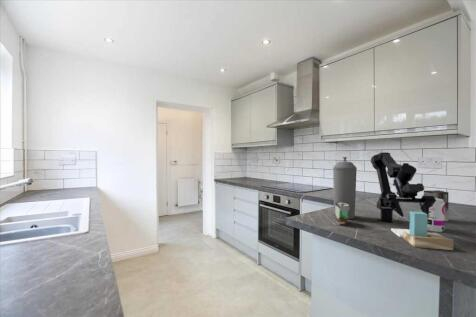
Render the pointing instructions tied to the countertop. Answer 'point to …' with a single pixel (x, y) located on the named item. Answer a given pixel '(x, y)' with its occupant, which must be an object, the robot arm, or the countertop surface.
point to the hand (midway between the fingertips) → (415, 217)
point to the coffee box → (440, 195)
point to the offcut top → (434, 235)
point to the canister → (345, 185)
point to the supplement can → (436, 216)
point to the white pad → (399, 231)
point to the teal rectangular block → (418, 224)
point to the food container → (341, 213)
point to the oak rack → (429, 242)
